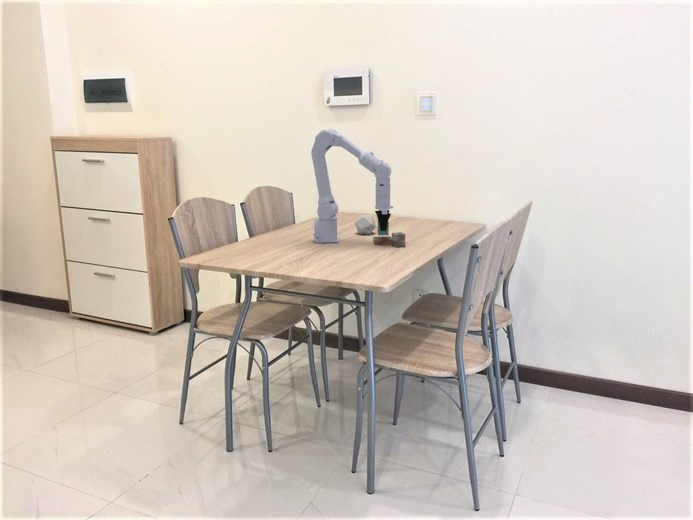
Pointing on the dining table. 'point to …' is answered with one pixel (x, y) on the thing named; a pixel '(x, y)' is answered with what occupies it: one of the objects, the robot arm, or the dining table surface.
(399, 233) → the grey block
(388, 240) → the walnut slab
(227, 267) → the dining table surface
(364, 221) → the die
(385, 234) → the teal block
